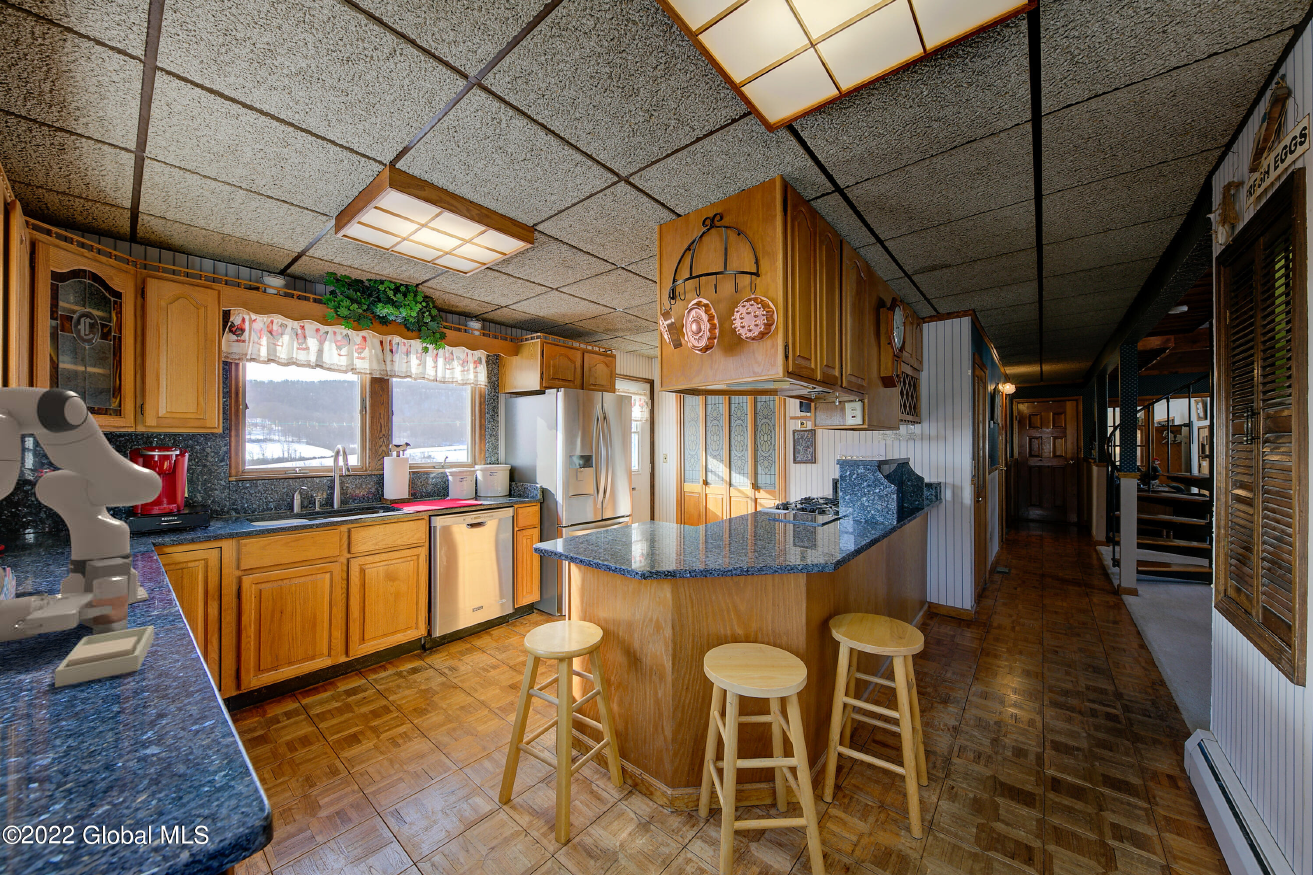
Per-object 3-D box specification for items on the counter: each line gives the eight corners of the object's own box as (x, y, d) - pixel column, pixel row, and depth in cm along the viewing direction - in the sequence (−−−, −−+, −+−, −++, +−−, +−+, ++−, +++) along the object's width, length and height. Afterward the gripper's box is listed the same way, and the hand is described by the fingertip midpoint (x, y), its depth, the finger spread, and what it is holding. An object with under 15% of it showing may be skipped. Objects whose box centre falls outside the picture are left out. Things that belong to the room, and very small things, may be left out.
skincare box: (80, 624, 128) (80, 561, 128) (119, 615, 134) (119, 556, 134) (92, 629, 124) (92, 565, 124) (132, 620, 130) (132, 559, 130)
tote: (83, 655, 109) (83, 636, 109) (153, 642, 116) (153, 625, 116) (55, 692, 93) (55, 670, 93) (138, 674, 100) (138, 654, 100)
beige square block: (79, 666, 101) (79, 646, 101) (137, 655, 106) (137, 636, 106) (68, 681, 95) (68, 660, 95) (130, 669, 100) (130, 648, 100)
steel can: (95, 637, 119) (96, 578, 119) (129, 631, 123) (130, 574, 123) (89, 644, 115) (90, 583, 115) (124, 638, 118) (125, 579, 118)
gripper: (6, 615, 102) (106, 601, 111) (39, 592, 118) (123, 581, 127) (6, 646, 102) (106, 630, 111) (39, 619, 118) (123, 606, 127)
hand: (115, 604), depth 119 cm, fingers closed on steel can, 6 cm apart
